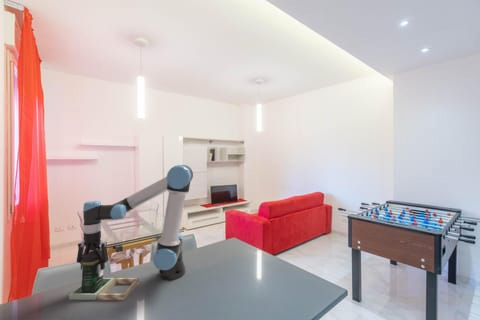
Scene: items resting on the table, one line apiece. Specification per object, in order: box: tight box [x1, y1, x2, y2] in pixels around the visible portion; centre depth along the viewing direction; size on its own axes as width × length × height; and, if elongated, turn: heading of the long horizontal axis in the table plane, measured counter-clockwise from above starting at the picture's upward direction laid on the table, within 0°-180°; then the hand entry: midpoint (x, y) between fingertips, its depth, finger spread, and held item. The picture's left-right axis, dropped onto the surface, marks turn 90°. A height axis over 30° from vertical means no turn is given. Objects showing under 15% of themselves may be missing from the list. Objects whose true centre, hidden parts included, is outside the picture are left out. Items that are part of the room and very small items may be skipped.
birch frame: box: [96, 277, 140, 301], centre depth 115 cm, size 13×15×2 cm
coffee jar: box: [81, 250, 104, 293], centre depth 116 cm, size 10×8×19 cm
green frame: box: [68, 277, 115, 301], centre depth 116 cm, size 13×15×2 cm
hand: (92, 275), depth 116 cm, fingers closed on coffee jar, 8 cm apart
